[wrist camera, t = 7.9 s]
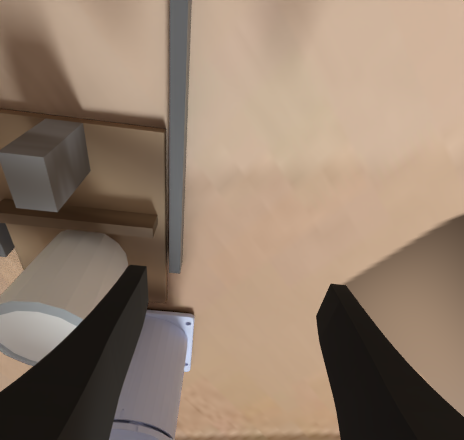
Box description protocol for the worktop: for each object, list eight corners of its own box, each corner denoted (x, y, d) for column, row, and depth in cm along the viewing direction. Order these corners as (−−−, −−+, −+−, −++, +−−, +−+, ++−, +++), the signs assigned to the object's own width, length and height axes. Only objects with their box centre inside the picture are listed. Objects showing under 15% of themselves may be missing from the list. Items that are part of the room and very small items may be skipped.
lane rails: (182, 262, 25) (180, 273, 24) (4, 244, 24) (-6, 255, 23) (192, -30, 14) (189, -31, 13) (-129, -79, 13) (-158, -84, 12)
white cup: (21, 244, 23) (-49, 328, 17) (88, 205, 21) (32, 285, 15) (91, 298, 26) (51, 382, 21) (155, 269, 24) (129, 354, 19)
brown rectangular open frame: (167, 297, 27) (154, 351, 23) (35, 285, 26) (-1, 338, 22) (166, 128, 18) (145, 169, 14) (-32, 104, 18) (-112, 139, 14)
